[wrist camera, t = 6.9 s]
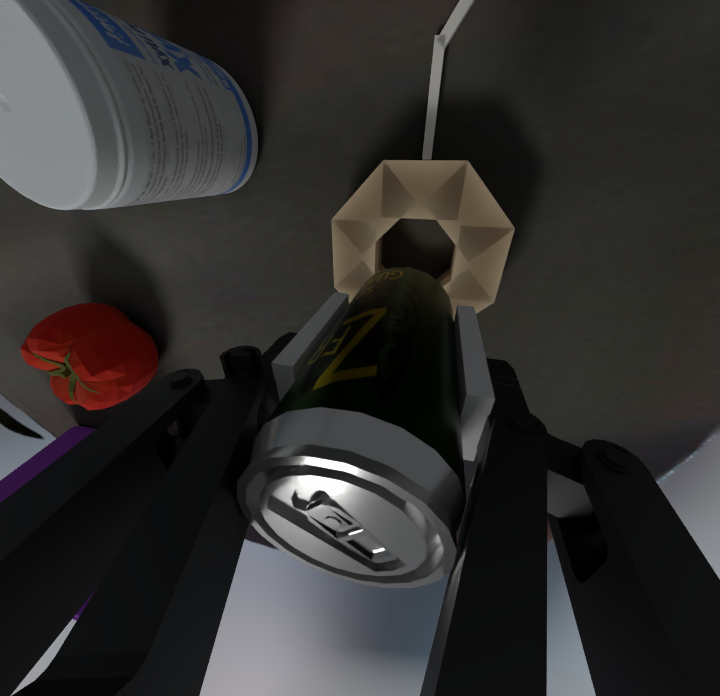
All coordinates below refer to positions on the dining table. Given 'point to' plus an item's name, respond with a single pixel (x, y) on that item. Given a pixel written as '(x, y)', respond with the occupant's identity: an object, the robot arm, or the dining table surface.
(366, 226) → the tan octagonal bowl
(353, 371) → the beer can
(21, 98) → the supplement tub
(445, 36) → the drinking straw
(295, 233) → the dining table surface
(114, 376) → the tomato
